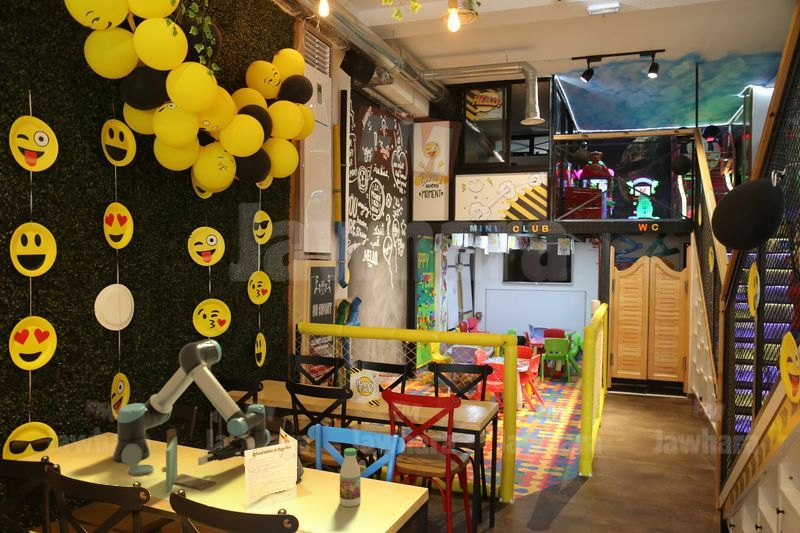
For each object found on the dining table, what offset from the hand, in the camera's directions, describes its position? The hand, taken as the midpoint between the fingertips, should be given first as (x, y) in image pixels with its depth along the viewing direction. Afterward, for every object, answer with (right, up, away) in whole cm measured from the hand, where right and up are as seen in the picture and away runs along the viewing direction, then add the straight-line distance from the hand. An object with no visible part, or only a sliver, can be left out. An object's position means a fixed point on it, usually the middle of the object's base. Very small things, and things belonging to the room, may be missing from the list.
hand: (199, 461), depth 244 cm
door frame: (-5, -9, +2) cm, 10 cm away
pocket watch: (-30, -9, +14) cm, 34 cm away
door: (-11, -8, -3) cm, 14 cm away
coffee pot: (+33, -9, +2) cm, 35 cm away
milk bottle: (+62, -9, -19) cm, 66 cm away
